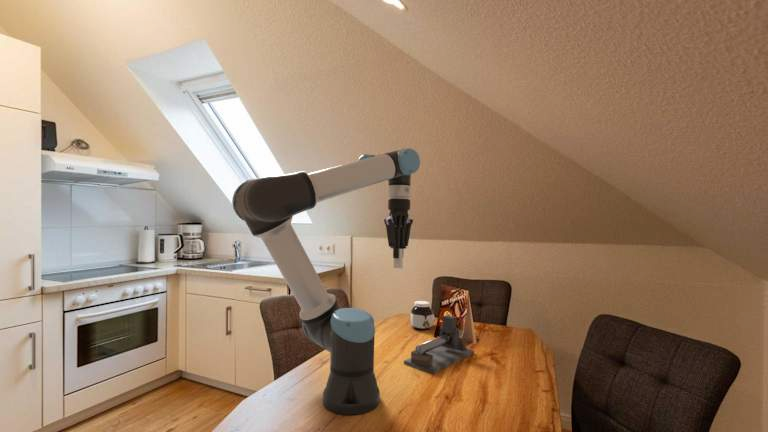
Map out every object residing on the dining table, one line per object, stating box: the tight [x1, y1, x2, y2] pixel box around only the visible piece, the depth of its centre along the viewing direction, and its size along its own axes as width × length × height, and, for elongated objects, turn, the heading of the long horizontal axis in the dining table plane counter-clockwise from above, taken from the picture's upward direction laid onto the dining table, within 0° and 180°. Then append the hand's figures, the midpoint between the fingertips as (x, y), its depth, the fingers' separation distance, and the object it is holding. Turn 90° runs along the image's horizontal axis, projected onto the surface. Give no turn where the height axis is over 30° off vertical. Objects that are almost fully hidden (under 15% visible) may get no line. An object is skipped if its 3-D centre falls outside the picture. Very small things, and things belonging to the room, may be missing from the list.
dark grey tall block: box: [439, 314, 460, 350], centre depth 134 cm, size 3×6×11 cm, turn 48°
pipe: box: [415, 329, 463, 355], centre depth 130 cm, size 25×3×3 cm, turn 138°
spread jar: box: [410, 300, 436, 331], centre depth 167 cm, size 12×11×12 cm
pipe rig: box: [403, 337, 475, 375], centre depth 130 cm, size 26×12×4 cm, turn 138°
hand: (398, 267), depth 125 cm, fingers closed
